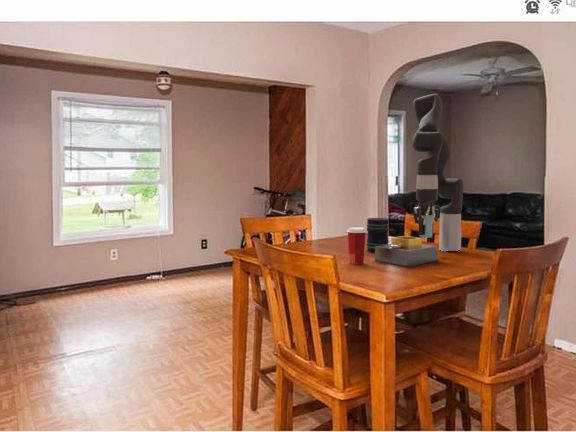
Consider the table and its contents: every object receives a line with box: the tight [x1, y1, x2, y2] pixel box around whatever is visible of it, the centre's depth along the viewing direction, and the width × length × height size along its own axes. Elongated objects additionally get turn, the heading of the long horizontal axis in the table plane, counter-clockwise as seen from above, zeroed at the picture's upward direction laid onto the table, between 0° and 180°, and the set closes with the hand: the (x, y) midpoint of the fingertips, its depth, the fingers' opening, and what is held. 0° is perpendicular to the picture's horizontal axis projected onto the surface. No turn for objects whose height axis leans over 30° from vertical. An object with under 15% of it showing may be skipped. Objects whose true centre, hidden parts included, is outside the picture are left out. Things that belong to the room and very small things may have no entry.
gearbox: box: [374, 235, 439, 268], centre depth 191 cm, size 20×16×10 cm
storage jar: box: [366, 217, 390, 254], centre depth 214 cm, size 10×10×15 cm
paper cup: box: [346, 226, 367, 265], centre depth 187 cm, size 8×8×14 cm
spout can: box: [419, 215, 434, 239], centre depth 171 cm, size 4×4×10 cm
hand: (426, 234), depth 171 cm, fingers closed on spout can, 4 cm apart
